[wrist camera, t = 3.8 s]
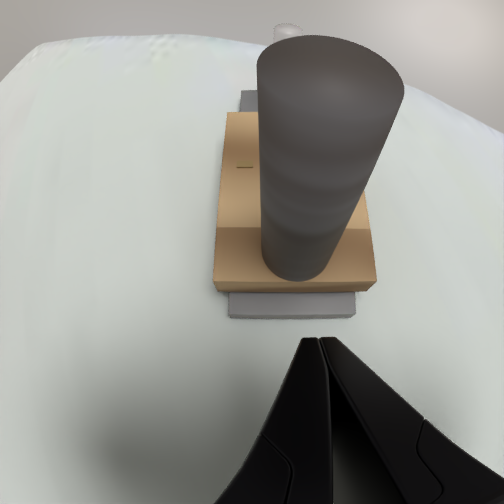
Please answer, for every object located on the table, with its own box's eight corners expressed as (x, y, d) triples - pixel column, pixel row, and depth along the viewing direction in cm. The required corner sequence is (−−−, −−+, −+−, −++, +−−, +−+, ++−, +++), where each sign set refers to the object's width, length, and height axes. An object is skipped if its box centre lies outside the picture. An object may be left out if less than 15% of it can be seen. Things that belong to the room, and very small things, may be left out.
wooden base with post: (366, 291, 14) (499, 143, 5) (217, 291, 15) (139, 121, 5) (342, 133, 18) (377, -22, 8) (229, 130, 19) (209, -32, 9)
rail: (350, 317, 15) (407, 271, 9) (230, 318, 16) (206, 271, 9) (323, 102, 21) (336, 22, 15) (242, 100, 21) (235, 19, 15)
